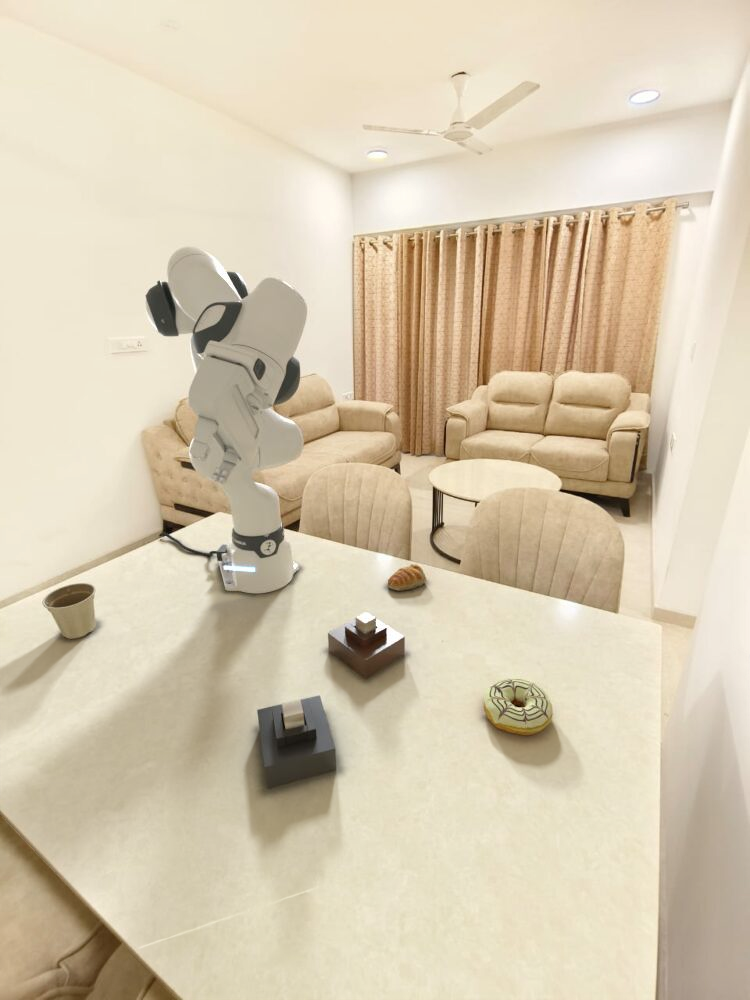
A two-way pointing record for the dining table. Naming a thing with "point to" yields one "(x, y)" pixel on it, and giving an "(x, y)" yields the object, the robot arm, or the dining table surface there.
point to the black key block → (296, 744)
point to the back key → (365, 623)
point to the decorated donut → (514, 719)
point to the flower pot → (72, 609)
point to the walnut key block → (366, 647)
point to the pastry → (407, 578)
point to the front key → (293, 714)
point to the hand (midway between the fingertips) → (208, 470)
